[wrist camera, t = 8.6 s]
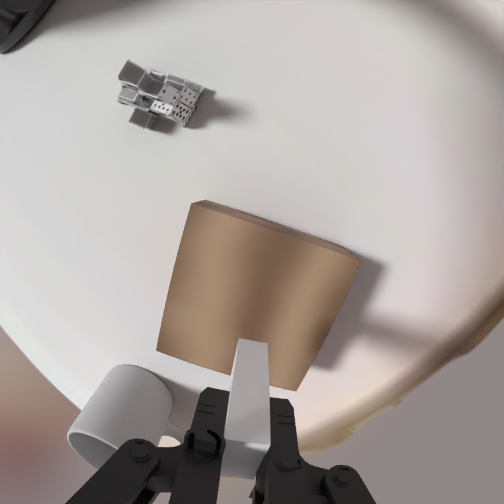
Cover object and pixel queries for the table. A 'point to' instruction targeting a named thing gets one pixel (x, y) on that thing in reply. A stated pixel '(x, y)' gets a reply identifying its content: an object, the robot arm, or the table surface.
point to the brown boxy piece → (252, 292)
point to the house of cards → (157, 95)
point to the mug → (123, 415)
